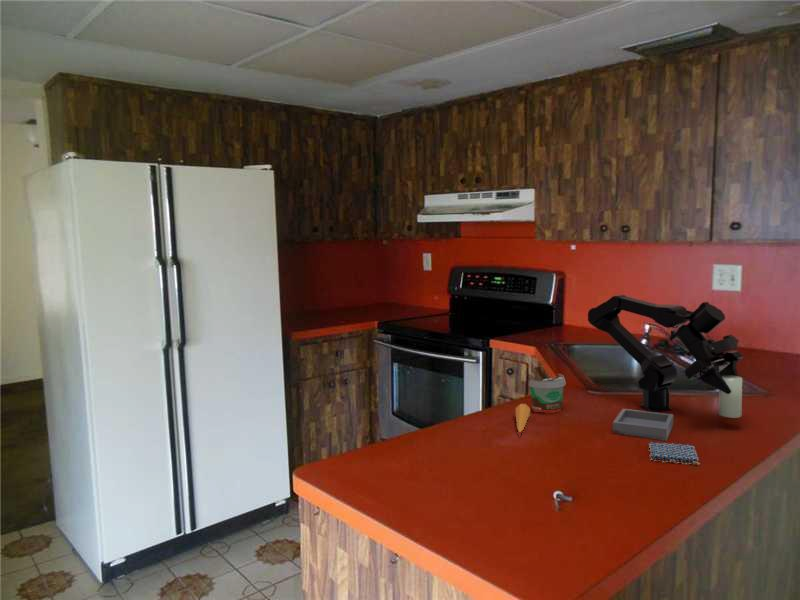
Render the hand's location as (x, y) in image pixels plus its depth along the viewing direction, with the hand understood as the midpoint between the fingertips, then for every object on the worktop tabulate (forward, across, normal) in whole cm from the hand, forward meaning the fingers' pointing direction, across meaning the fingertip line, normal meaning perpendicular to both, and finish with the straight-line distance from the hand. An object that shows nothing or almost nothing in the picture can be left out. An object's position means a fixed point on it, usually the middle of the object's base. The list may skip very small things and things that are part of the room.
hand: (735, 391), depth 153 cm
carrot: (-18, -42, +33) cm, 56 cm away
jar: (+4, 0, +6) cm, 7 cm away
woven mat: (+8, -28, +7) cm, 31 cm away
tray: (-3, -18, +17) cm, 25 cm away
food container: (-21, -26, +36) cm, 49 cm away
